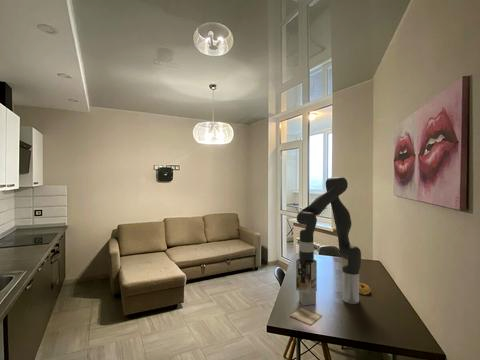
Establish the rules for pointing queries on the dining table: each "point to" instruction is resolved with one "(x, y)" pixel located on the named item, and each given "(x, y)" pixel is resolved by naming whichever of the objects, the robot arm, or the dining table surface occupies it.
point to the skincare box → (307, 298)
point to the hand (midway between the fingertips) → (306, 281)
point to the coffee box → (307, 277)
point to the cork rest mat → (306, 316)
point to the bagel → (364, 289)
